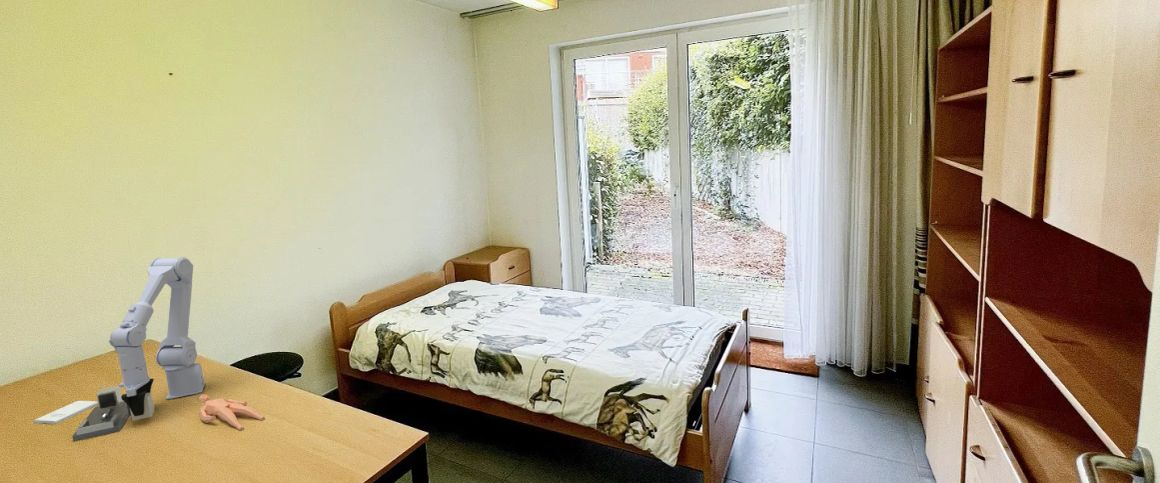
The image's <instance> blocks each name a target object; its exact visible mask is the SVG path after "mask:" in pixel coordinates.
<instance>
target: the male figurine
mask: <svg viewBox="0 0 1160 483" xmlns="http://www.w3.org/2000/svg"><path fill="white" fill-rule="evenodd" d="M198 399H199V401H200V402H202V403H203V404H204V405H203V406H202V407H201V408H200V409H199V413H198V415H199V418H200V421H202V423H203V422H204V423H207V424H208V423H211V422H214V420H216V416H217V417H218V418H219V419H220V420H221V421H223V422H227V423H228V425H229V424H230V425H231V426H232V427H234V428H236V429H237V430H238V431H243V430H244V429H245V428H244V426H243V425H242V424H241V423H240V422H239V420H238V418H237V417H238V416H240V415H243V416H247V417H250V418H253V419H257V420H259V421H265V419H266V418H265V416H264V415H261V414H260V413H259V412H257V411H256V410H255V409H254V408H252V407H251V406H248V402H247V401H241V400H240V401H238V400H236V399H235V400H234V399H230V398H228V399H224V398H214V399H211V398H210V395H209V396H208V395H207V394H205V393H204V394H201V395H200V396H199V398H198Z"/></svg>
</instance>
